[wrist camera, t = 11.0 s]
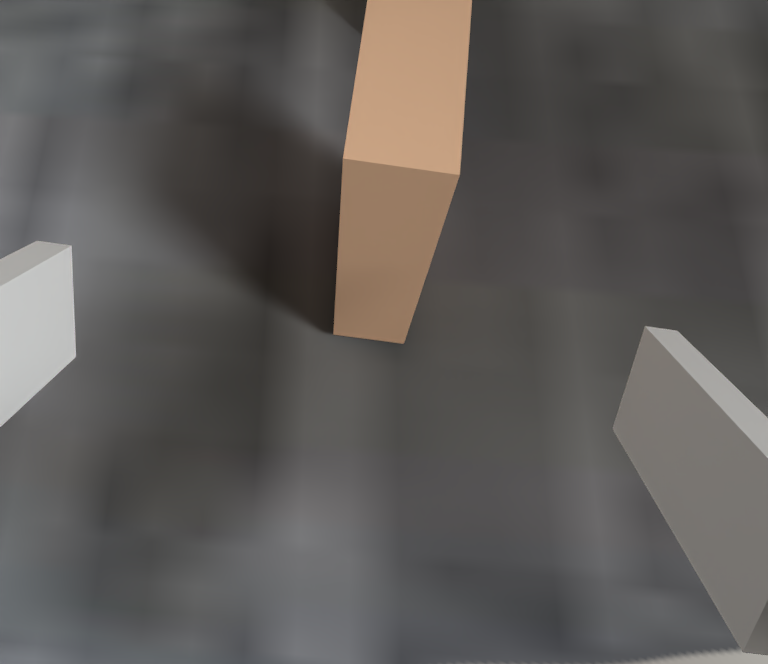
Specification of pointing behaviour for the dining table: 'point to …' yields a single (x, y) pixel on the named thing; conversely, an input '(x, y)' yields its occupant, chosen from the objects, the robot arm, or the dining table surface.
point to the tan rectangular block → (399, 160)
